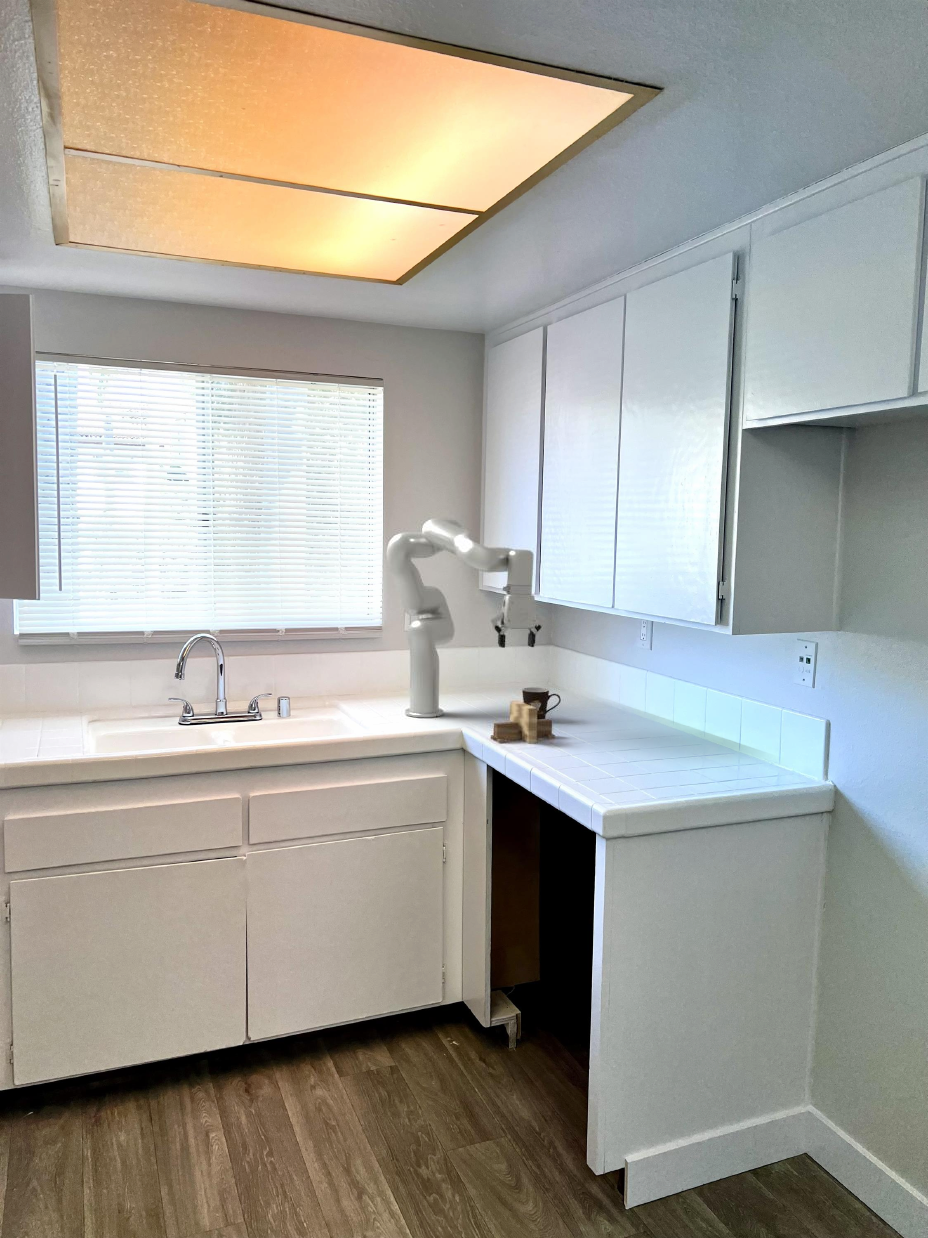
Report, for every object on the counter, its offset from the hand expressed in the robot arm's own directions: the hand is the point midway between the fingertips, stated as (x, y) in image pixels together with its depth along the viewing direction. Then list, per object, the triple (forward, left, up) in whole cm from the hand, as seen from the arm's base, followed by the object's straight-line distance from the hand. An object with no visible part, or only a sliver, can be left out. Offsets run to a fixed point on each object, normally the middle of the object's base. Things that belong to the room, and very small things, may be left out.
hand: (516, 646), depth 275 cm
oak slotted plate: (+12, -3, -25) cm, 28 cm away
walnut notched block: (+12, -3, -25) cm, 28 cm away
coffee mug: (-8, +13, -26) cm, 30 cm away
